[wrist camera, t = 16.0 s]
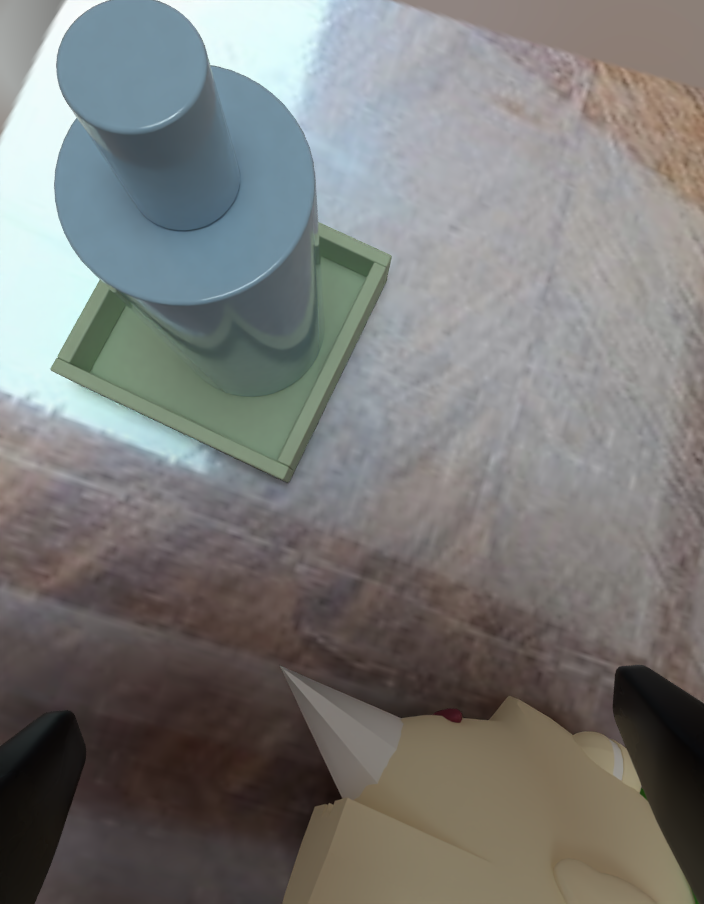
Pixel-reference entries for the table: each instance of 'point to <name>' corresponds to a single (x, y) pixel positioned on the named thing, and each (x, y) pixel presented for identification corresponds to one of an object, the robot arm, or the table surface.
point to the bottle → (190, 197)
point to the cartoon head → (475, 811)
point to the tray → (208, 409)
